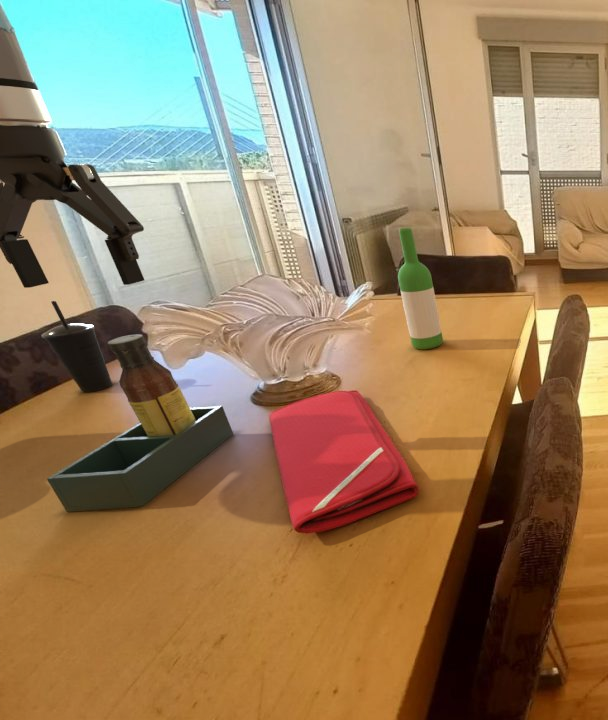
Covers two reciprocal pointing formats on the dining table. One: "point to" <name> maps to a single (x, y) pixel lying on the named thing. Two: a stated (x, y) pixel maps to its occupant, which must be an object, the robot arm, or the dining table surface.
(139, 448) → the dark green divided tray
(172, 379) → the sauce bottle
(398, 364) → the dining table surface
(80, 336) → the drinking cup
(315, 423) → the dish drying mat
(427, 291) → the wine bottle
